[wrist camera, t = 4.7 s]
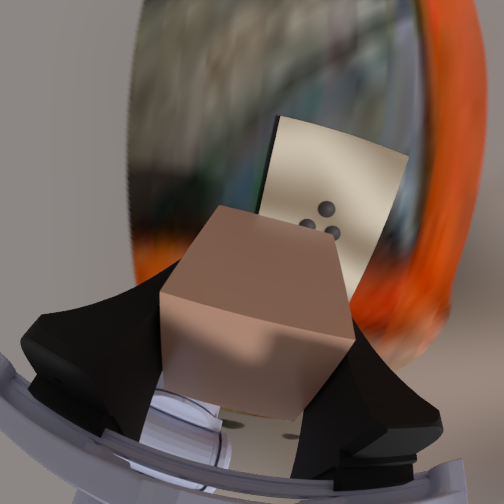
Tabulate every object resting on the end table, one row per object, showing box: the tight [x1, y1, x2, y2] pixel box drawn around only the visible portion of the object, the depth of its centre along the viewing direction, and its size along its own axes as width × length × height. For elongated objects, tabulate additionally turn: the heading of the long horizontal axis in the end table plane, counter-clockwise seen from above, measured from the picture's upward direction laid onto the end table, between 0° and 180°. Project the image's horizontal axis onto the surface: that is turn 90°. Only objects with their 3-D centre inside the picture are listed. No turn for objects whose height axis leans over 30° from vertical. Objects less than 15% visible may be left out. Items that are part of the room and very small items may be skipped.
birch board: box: [259, 116, 409, 302], centre depth 19 cm, size 13×9×1 cm
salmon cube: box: [160, 205, 356, 421], centre depth 10 cm, size 5×5×6 cm
